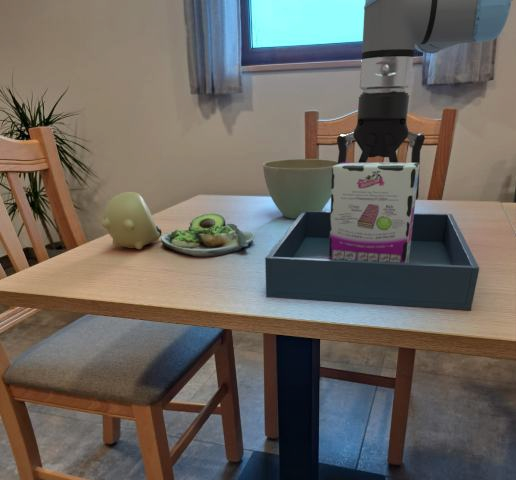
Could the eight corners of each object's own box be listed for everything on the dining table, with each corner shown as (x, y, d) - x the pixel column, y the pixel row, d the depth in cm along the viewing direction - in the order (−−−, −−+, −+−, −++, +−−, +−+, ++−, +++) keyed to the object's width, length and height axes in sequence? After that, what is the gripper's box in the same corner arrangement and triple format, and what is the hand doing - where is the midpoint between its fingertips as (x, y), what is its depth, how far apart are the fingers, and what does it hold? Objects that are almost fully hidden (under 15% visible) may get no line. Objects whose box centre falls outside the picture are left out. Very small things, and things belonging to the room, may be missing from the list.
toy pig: (159, 265, 93) (175, 221, 97) (131, 230, 82) (150, 182, 86) (118, 259, 96) (135, 217, 99) (85, 226, 85) (106, 179, 89)
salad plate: (280, 246, 90) (279, 222, 87) (200, 266, 80) (198, 240, 78) (225, 229, 103) (223, 208, 101) (152, 244, 94) (149, 221, 92)
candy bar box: (407, 277, 70) (422, 161, 62) (402, 288, 66) (417, 166, 58) (335, 270, 74) (340, 160, 66) (326, 280, 70) (331, 164, 62)
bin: (446, 245, 87) (451, 213, 85) (471, 310, 60) (479, 268, 58) (302, 239, 94) (303, 210, 91) (266, 296, 67) (265, 257, 64)
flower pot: (254, 222, 109) (252, 167, 103) (276, 207, 124) (275, 158, 118) (330, 225, 103) (332, 168, 98) (343, 209, 119) (346, 158, 113)
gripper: (317, 93, 70) (313, 244, 80) (454, 88, 65) (430, 249, 76) (324, 93, 76) (319, 233, 87) (448, 89, 71) (427, 237, 82)
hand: (371, 240), depth 81 cm, fingers closed on toy block, 6 cm apart
